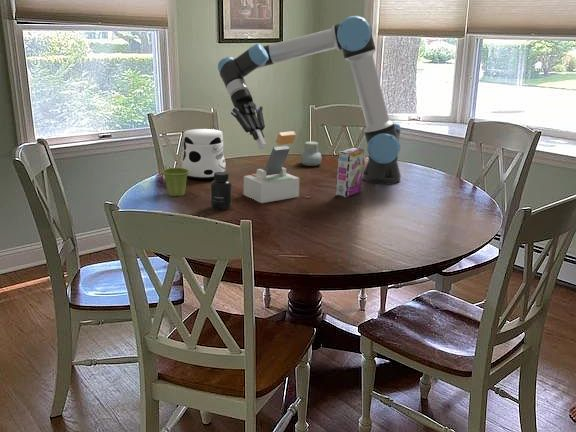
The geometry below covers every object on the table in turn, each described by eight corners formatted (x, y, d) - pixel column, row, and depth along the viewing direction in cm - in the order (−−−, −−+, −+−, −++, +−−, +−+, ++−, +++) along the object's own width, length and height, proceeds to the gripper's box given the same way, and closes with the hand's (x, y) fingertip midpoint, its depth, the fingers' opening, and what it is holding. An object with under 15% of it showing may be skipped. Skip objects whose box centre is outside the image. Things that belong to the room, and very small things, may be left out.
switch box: (243, 194, 215) (243, 167, 212) (280, 188, 224) (280, 163, 221) (261, 203, 206) (261, 175, 203) (298, 196, 214) (299, 169, 211)
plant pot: (194, 192, 216) (194, 169, 213) (179, 199, 208) (179, 175, 205) (173, 189, 220) (172, 166, 217) (157, 195, 212) (156, 171, 209)
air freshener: (299, 162, 268) (300, 140, 265) (318, 162, 269) (318, 140, 266) (303, 167, 258) (303, 145, 255) (321, 167, 259) (322, 145, 256)
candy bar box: (347, 198, 214) (349, 153, 209) (335, 195, 217) (337, 151, 212) (361, 191, 223) (364, 148, 218) (350, 189, 226) (352, 147, 221)
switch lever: (262, 173, 211) (278, 132, 198) (277, 171, 215) (294, 131, 202) (264, 177, 210) (281, 136, 198) (279, 174, 214) (296, 134, 201)
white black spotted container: (233, 178, 237) (233, 133, 231) (193, 184, 228) (192, 137, 222) (213, 169, 251) (212, 127, 245) (175, 174, 241) (173, 130, 236)
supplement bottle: (215, 211, 195) (214, 176, 192) (208, 206, 201) (207, 171, 197) (234, 209, 198) (234, 174, 195) (227, 203, 204) (226, 170, 200)
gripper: (251, 99, 228) (274, 150, 221) (221, 101, 221) (243, 153, 213) (258, 87, 223) (282, 138, 215) (227, 88, 215) (251, 141, 208)
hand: (263, 146), depth 214 cm, fingers closed
